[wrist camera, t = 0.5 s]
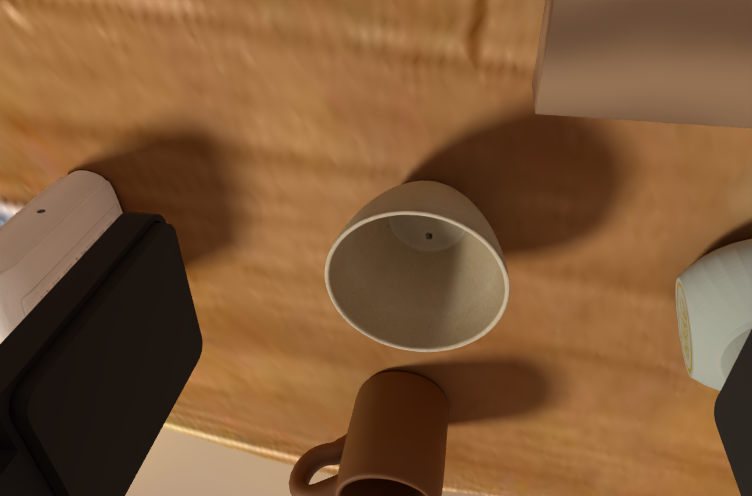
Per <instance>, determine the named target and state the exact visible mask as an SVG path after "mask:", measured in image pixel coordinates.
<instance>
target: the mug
mask: <svg viewBox="0 0 752 496" xmlns="http://www.w3.org/2000/svg"><path fill="white" fill-rule="evenodd" d="M447 427H448V404H447V400H446V398H445V396H444V394H443V393H442V391H441V390H440V389H439V388H438V387H437V386H436V385H435V384H434V383H433V382H431V381H430V380H428V379H426V378H424V377H422V376H419V375H416V374H413V373H409V372H402V371H390V372H384V373H380V374H377V375H375V376H373V377H371V378H370V379H368V380H367V381H366V382H365V383H364V384H363V385H362V386H361V388H360V390H359V392H358V394H357V397H356V401H355V405H354V409H353V413H352V417H351V421H350V425H349V429H348V433H347V434H346V435H344V436H343V437H341V438H339V439H337V440H336V441H334V442H331V443H325V444H321V445H319V446H316V447H314V448H312V449H310V450H309V451H307V452H306V453H305V454H304V455H303V456H302V457H301V458H300V459H299V460H298V461H297V463H296V464H295V466H294V468H293V470H292V472H291V475H290V480H289V487H290V493H291V495H292V496H441V495H442V488H443V478H444V467H445V455H446V441H447ZM337 464H340V466H339V472H338V474H337V475H335V476H333V477H330V478H328V479H325V480H323V481H320V482H318V483H315V484H311V485H309V482H310V480H311V478H312V476H313V475H314V474H315V473H316V472H317V471H318V470H319V469H320V468H322V467H324V466H328V465H337Z"/></svg>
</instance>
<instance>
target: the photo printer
mask: <svg viewBox="0 0 752 496" xmlns="http://www.w3.org/2000/svg"><path fill="white" fill-rule="evenodd" d="M122 213H123V212H122V210H121V207H120V204H119V202H118V199H117V196H116V194H115V192H114V189H113V187H112V185H111V184H110V182H109V181H107V180H105V179H104V178H103V177H102V176H100V175H98V174H96V173H94V172H90V171H84V170H79V171H74V172H72V173H70V174H69V175H68V176H66V177H61V178H59V179H58V180H56V181H55V182H53V183H52V184H51V185H50V186H48V187H47V188H46V189H45V190H43V191H42V192H41V193H40V194H39V195H38V196H36V197H35V198H34V199H33V200H32V201H30V202H29V203H28V204H27V205H26V206H24V207H23V208H22V209H21V210H20V211H19V212H17V213H16V214H15V215H14V216H13V217H11V218H10V219H9V220H8V221H7V222H6V223H4V224H3V225H2V226H1V227H0V344H1V343H2V342H3V340H4V339H5V338H6V337H7V336H8V335H9V334H10V333H11V332H12V331H13V330H14V329H15V328H16V326H17V325H18V324H19V323H20V322H21V321H22V320H23V319H24V318H25V317H26V316H27V315H28V314H29V312H30V311H31V310H32V309H33V308H34V307H35V306H36V305H37V304H38V303H39V302H40V301H41V300H42V299H43V297H44V296H45V295H46V294H47V293H48V292H49V291H50V290H51V289H52V288H53V287H54V286H55V285H56V283H57V282H58V281H59V280H60V279H61V278H62V277H63V276H64V275H65V274H66V273H67V272H68V271H69V269H70V268H71V267H72V266H73V265H74V264H75V263H76V262H77V261H78V260H79V259H80V258H81V257H82V256H83V254H84V253H85V252H86V251H87V250H88V249H89V248H90V247H91V246H92V245H93V244H94V243H95V242H96V240H97V239H98V238H99V237H100V236H101V235H102V234H103V233H104V232H105V231H106V230H107V229H108V228H109V226H110V225H111V224H112V223H113V222H114V221H115V220H116V219H117V218H118V217H119V216H120V215H121V214H122Z"/></svg>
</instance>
